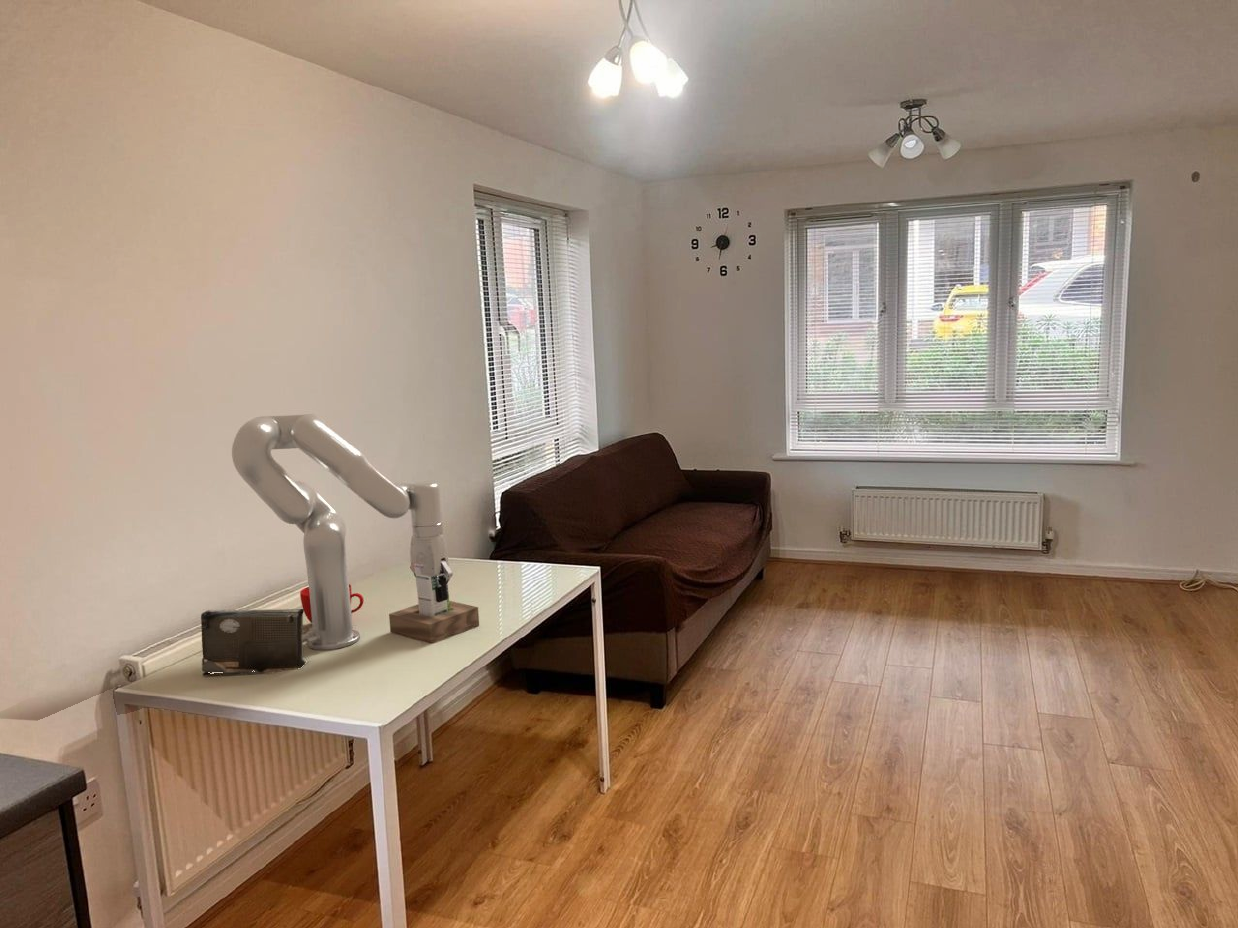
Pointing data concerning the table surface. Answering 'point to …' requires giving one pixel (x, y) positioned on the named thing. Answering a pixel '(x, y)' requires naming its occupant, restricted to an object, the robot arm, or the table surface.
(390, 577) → the table surface
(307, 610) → the ceramic cup
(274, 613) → the radio
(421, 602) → the syrup box
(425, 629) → the socket block
